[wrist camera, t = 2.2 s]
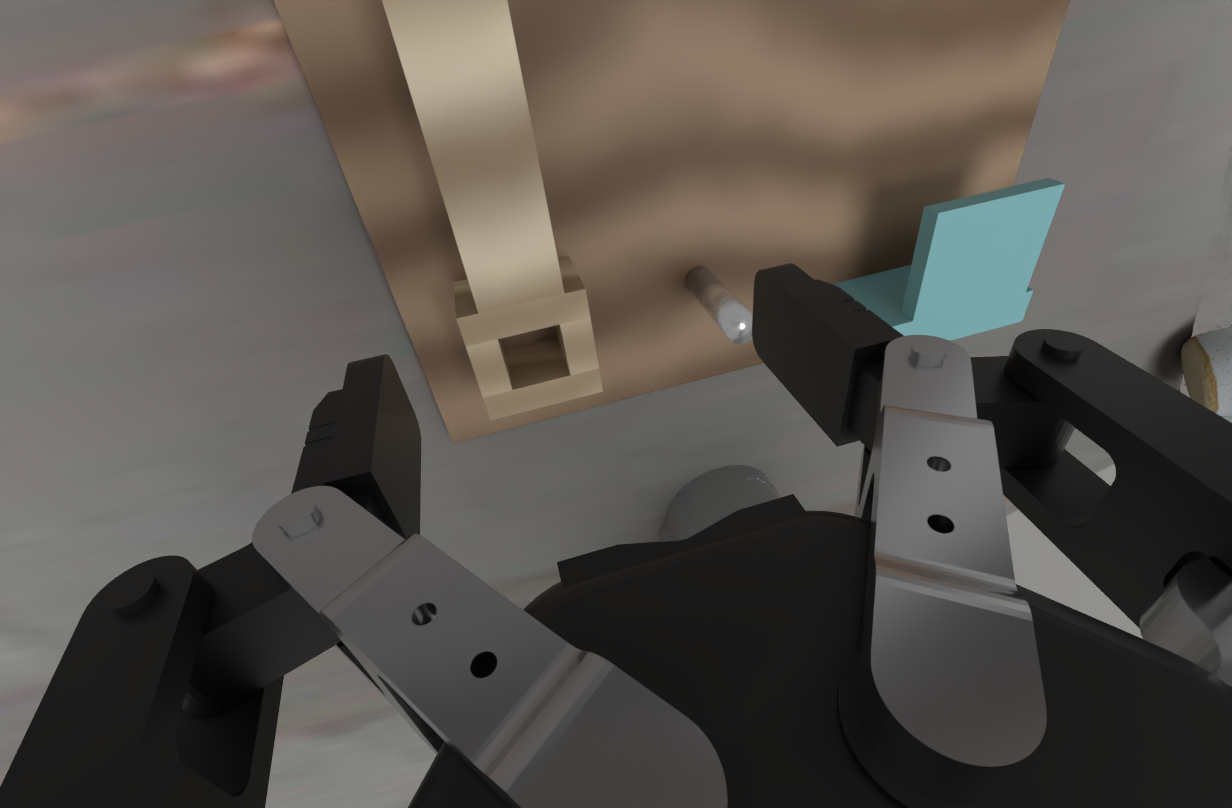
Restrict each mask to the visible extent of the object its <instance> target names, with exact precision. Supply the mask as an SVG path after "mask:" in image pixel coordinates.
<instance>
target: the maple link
mask: <svg viewBox="0 0 1232 808" xmlns="http://www.w3.org/2000/svg"><path fill="white" fill-rule="evenodd" d="M382 2H383V5H384V9H385V12H386V15H387V18H388V22H389V25H390V28H391V31H392V35H393V38H394V41H395V44H396V48H397V51H398V54H399V57H400V61H401V64H402V67H403V70H404V74H405V77H406V80H407V83H408V87H409V90H410V93H411V96H412V100H413V103H414V106H415V109H416V113H417V116H418V119H419V122H420V126H421V129H422V132H423V135H424V139H425V142H426V145H427V148H428V152H429V155H430V158H431V161H432V165H433V168H434V171H435V174H436V178H437V181H438V184H439V187H440V191H441V194H442V197H443V200H444V204H445V207H446V210H447V213H448V217H449V220H450V223H451V226H452V230H453V233H454V236H455V239H456V243H457V246H458V249H459V252H460V256H461V259H462V262H463V265H464V269H465V272H466V275H467V278H468V279H465V280H461V281H456V282H453V283H454V296H455V309H456V320H457V322H458V325H459V328H460V331H461V334H462V337H463V340H464V343H465V346H466V349H467V352H468V355H469V358H470V361H471V364H472V367H473V370H474V373H475V376H476V379H477V382H478V385H479V388H480V391H481V394H482V397H483V400H484V402H485V405H486V408H487V411H488V414H489V417H490V420H494V419H498V418H502V417H506V416H510V415H513V414H517V413H521V412H525V411H529V410H533V409H537V408H541V407H545V406H549V405H552V404H556V403H560V402H564V401H568V400H572V399H576V398H580V397H584V396H588V395H591V394H595V393H599V392H603V389H602V383H601V377H600V371H599V365H598V359H597V353H596V347H595V341H594V335H593V330H592V324H591V318H590V312H589V306H588V300H587V294H586V289H585V287H584V285H583V283H582V281H581V279H580V277H579V275H578V273H577V271H576V269H575V267H574V265H573V263H572V261H571V259H570V257H569V256H568V257H564V258H559V259H558V257H557V252H556V247H555V242H554V237H553V232H552V227H551V222H550V216H549V211H548V206H547V201H546V196H545V191H544V186H543V181H542V175H541V170H540V165H539V160H538V155H537V150H536V145H535V140H534V135H533V129H532V124H531V119H530V114H529V109H528V104H527V99H526V94H525V88H524V83H523V78H522V73H521V68H520V63H519V58H518V53H517V47H516V42H515V37H514V32H513V27H512V22H511V17H510V12H509V7H508V1H507V0H382ZM551 326H555V331H556V335H557V337H556V338H551V339H547V340H543V341H539V342H535V343H531V344H527V345H522V346H518V347H514V348H510V349H506V350H504V347H503V343H502V340H501V338H505V337H509V336H513V335H517V334H522V333H526V332H530V331H534V330H538V329H543V328H547V327H551Z"/></svg>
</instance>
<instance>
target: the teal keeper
mask: <svg viewBox="0 0 1232 808" xmlns="http://www.w3.org/2000/svg"><path fill="white" fill-rule="evenodd" d="M1064 186H1065V183H1062V182H1059V181H1055V180H1052V179H1049V178H1047V179H1042V180H1038V181H1034V182H1029V183H1025V184H1020V185H1016V186H1012V187H1007V188H1003V189H999V190H994V191H990V192H986V193H981V194H977V195H973V196H968V197H964V198H960V199H955V200H951V201H947V202H942V203H938V204H934V205H929V206H925V207H924V210H923V215H922V219H921V224H920V228H919V233H918V237H917V242H916V246H915V251H914V256H913V260H912V265H908V266H904V267H900V268H896V269H892V270H888V271H884V272H879V273H875V274H871V275H867V276H863V277H859V278H855V279H851V280H847V281H843V282H839V283H834V284H832V285H835V286H838V287H840V288H841V289H842V290H844V291H845V292H846V293H848V294H849V295H850V296H852V297H853V298H854V301H856V300H857V301H858V302H860V303H861V304H862V305H864V306H865V307H866V310H870V311H872V312H873V313H874V314H876V315H877V316H878V317H880V318H881V319H882V320H884V321H885V322H886V323H888V324H889V325H890V326H892V327H893V328H894V329H896V330H897V331H898V332H900V333H901V334H902V335H904V336H908V335H929V336H935V337H940V338H943V339H946V340H949V341H950V340H954V339H958V338H961V337H965V336H969V335H973V334H976V333H980V332H984V331H988V330H991V329H995V328H999V327H1003V326H1006V325H1010V324H1014V323H1018V322H1021V321H1022V320H1023V317H1024V314H1025V312H1026V309H1027V306H1028V304H1029V301H1030V298H1031V296H1032V293H1033V290H1032V289H1030V288H1028V285H1029V282H1030V279H1031V276H1032V274H1033V271H1034V268H1035V265H1036V263H1037V260H1038V257H1039V254H1040V252H1041V249H1042V246H1043V243H1044V241H1045V238H1046V235H1047V232H1048V230H1049V227H1050V224H1051V222H1052V219H1053V216H1054V213H1055V211H1056V208H1057V205H1058V202H1059V200H1060V197H1061V194H1062V191H1063V189H1064Z"/></svg>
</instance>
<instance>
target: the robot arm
mask: <svg viewBox="0 0 1232 808" xmlns="http://www.w3.org/2000/svg"><path fill="white" fill-rule="evenodd" d="M752 340H753V344H754V348H755V350H756V352H757V354H758V356H759V358H760V359H761V360H762V361H763V362H764V363H765V365H766V366H767V367H768V368H769V369H770V370H771V371H772V373H773V374H774V375H775V376H776V377H777V378H778V379H779V381H780V382H781V383H782V384H783V385H784V386H785V387H786V389H787V390H788V391H789V392H790V393H791V394H792V395H793V397H794V398H795V399H796V400H797V401H798V402H799V404H800V405H801V406H802V407H803V408H804V409H805V410H806V412H807V413H808V414H809V415H810V416H811V417H812V418H813V420H814V421H815V422H816V423H817V424H818V425H819V426H820V428H821V429H822V430H823V431H824V432H825V433H826V434H827V436H828V437H829V438H830V439H831V440H832V441H833V442H834V444H835V445H836V446H837V447H838V446H841V445H845V444H848V443H852V442H855V441H859V440H860V441H861V442H862V443H863V444H864V448H863V452H862V457H861V464H860V473H859V482H858V491H857V500H856V509H855V516H851V515H847V514H842V513H835V512H828V511H805V510H804V508H803V507H802V506H801V504H800V503H799V501H798V500H797V498H796V497H795V496H794V494H792V495H788V496H785V497H780V496H779V494H778V492H777V491H776V489H775V487H774V486H773V485H772V484H771V483H770V481H769V480H768V479H767V477H766V476H765V474H763V473H762V472H761V471H759V470H758V469H755V468H752V467H749V466H741V465H737V466H726V467H722V468H718V469H715V470H712V471H710V472H707V473H705V474H703V475H701V476H699V477H698V478H696V479H694V480H693V481H691V482H690V483H689V484H687V485H686V486H685V487H684V488H683V489H682V490H681V491H680V492H679V493H678V494H677V495H676V497H675V498H674V500H673V501H672V503H671V504H670V507H669V509H668V512H667V516H666V523H665V525H664V526H663V528H662V529H661V530H660V531H659V532H658V534H659V537H660V539H661V542H651V543H636V544H621V545H615V546H612V547H608V548H605V549H601V550H598V551H594V552H591V553H587V554H584V555H580V556H577V557H573V558H570V559H567V560H563V561H560V562H557V564H558V569H559V573H560V578H561V582H559V583H557V584H555V585H554V586H552V587H550V588H549V589H547V590H546V591H545V592H543V593H542V594H540V595H539V596H538V597H536V598H535V599H534V600H533V601H532V602H531V603H530V604H529V605H527V606H526V607H525V608H524V610H522V609H521V608H520V607H518V606H517V605H516V604H514V603H513V602H511V601H510V600H509V599H507V598H506V597H505V596H503V595H502V594H501V593H499V592H498V591H496V590H495V589H494V588H492V587H491V586H490V585H488V584H487V583H485V582H484V581H483V580H481V579H480V578H479V577H477V576H476V575H475V574H473V573H472V572H470V571H469V570H468V569H466V568H465V567H464V566H462V565H461V564H459V563H458V562H457V561H455V560H454V559H453V558H451V557H450V556H449V555H447V554H446V553H444V552H443V551H442V550H440V549H439V548H438V547H436V546H435V545H433V544H432V543H431V542H429V541H428V540H427V539H425V538H424V537H422V536H420V487H421V435H420V429H419V425H418V421H417V418H416V415H415V413H414V410H413V408H412V406H411V403H410V401H409V399H408V396H407V394H406V392H405V389H404V387H403V385H402V382H401V380H400V378H399V375H398V373H397V371H396V368H395V366H394V364H393V362H392V360H391V358H390V357H389V356H388V355H387V354H385V355H380V356H376V357H372V358H367V359H363V360H358V361H354V362H350V363H349V364H348V366H347V370H346V375H345V380H344V385H343V389H341V390H337V391H333V392H328V393H327V395H326V396H325V397H324V398H323V400H322V401H321V402H320V403H319V404H318V406H317V407H316V408H315V409H314V410H313V414H312V418H311V421H310V425H309V432H308V433H307V436H306V440H305V445H306V446H305V447H304V448H303V452H302V455H301V459H300V463H299V467H298V470H297V474H296V478H295V482H294V485H293V489H292V493H291V494H290V495H288V496H286V497H285V498H283V499H282V500H280V501H279V502H277V503H276V504H275V505H273V506H272V507H271V508H270V509H269V510H268V511H266V513H265V514H264V515H263V516H262V517H261V518H260V520H259V521H258V523H257V525H256V527H255V529H254V532H253V535H252V543H251V544H249V545H247V546H245V547H243V548H242V549H240V550H238V551H236V552H233V553H231V554H229V555H227V556H225V557H223V558H221V559H219V560H217V561H215V562H213V563H211V564H209V565H207V566H205V567H203V568H201V569H199V570H197V569H196V568H195V567H194V566H193V565H192V564H191V563H190V562H189V561H188V560H187V559H185V558H183V557H180V556H162V557H158V558H154V559H151V560H148V561H145V562H143V563H141V564H138V565H136V566H134V567H132V568H131V569H129V570H127V571H125V572H124V573H122V574H121V575H119V576H118V577H116V578H115V579H114V580H112V581H111V582H110V583H108V584H107V585H106V586H105V587H104V588H103V589H102V590H101V591H100V592H99V593H98V594H97V595H96V596H95V597H94V598H93V599H92V601H91V602H90V603H89V605H88V606H87V607H86V609H85V611H84V613H83V614H82V617H81V619H80V621H79V623H78V625H77V627H76V629H75V631H74V633H73V635H72V638H71V640H70V642H69V644H68V646H67V648H66V650H65V652H64V654H63V656H62V659H61V661H60V663H59V665H58V667H57V669H56V671H55V673H54V675H53V677H52V680H51V682H50V684H49V686H48V688H47V690H46V692H45V694H44V696H43V698H42V701H41V703H40V705H39V707H38V709H37V711H36V713H35V715H34V717H33V719H32V722H31V724H30V726H29V728H28V730H27V732H26V734H25V736H24V738H23V740H22V743H21V745H20V747H19V749H18V751H17V753H16V755H15V757H14V759H13V761H12V764H11V766H10V768H9V770H8V772H7V774H6V776H5V778H4V780H3V782H2V784H1V787H0V808H265V804H266V797H267V790H268V783H269V776H270V769H271V762H272V755H273V748H274V741H275V734H276V727H277V720H278V713H279V706H280V699H281V692H282V685H283V678H284V675H285V674H287V673H289V672H290V671H292V670H294V669H295V668H297V667H299V666H300V665H302V664H304V663H306V662H307V661H309V660H311V659H312V658H314V657H316V656H317V655H319V654H321V653H323V652H324V651H326V650H328V649H329V648H331V647H333V646H334V645H335V647H336V648H337V649H338V650H339V651H340V652H341V653H342V654H343V655H344V656H345V657H346V658H347V659H348V660H349V661H350V662H351V663H352V664H353V665H354V666H355V668H356V669H357V670H358V671H359V672H360V673H361V674H362V675H363V676H364V677H365V678H366V679H367V680H368V681H369V682H370V683H371V684H372V685H373V686H374V687H375V688H376V689H377V690H378V692H379V693H380V694H381V695H382V696H383V697H384V698H385V699H386V700H387V701H388V702H389V703H390V704H391V705H392V706H393V707H394V708H395V709H396V710H397V712H398V713H399V714H400V715H401V716H402V717H403V718H404V719H405V721H406V722H407V723H408V724H409V725H410V726H411V727H412V729H413V730H414V731H415V732H416V733H417V734H418V735H419V736H420V738H421V739H422V740H423V741H424V742H425V743H426V744H427V745H428V746H429V747H430V748H431V750H432V751H433V752H434V753H435V754H436V755H437V756H436V757H435V759H434V761H433V763H432V765H431V767H430V768H429V770H428V772H427V774H426V776H425V777H424V779H423V781H422V783H421V785H420V786H419V788H418V790H417V792H416V794H415V796H414V797H413V799H412V801H411V803H410V805H409V806H408V808H1232V423H1231V422H1229V421H1228V420H1226V419H1224V418H1223V417H1221V416H1219V415H1218V414H1216V413H1214V412H1213V411H1211V410H1209V409H1208V408H1206V407H1204V406H1203V405H1201V404H1199V403H1198V402H1196V401H1194V400H1192V399H1191V398H1189V397H1187V396H1186V395H1184V394H1182V393H1181V392H1179V391H1177V390H1176V389H1174V388H1172V387H1171V386H1169V385H1167V384H1166V383H1164V382H1162V381H1161V380H1159V379H1157V378H1155V377H1154V376H1152V375H1150V374H1149V373H1147V372H1145V371H1144V370H1142V369H1140V368H1139V367H1137V366H1135V365H1134V364H1132V363H1130V362H1129V361H1127V360H1125V359H1123V358H1122V357H1120V356H1118V355H1117V354H1115V353H1113V352H1112V351H1110V350H1108V349H1107V348H1105V347H1103V346H1102V345H1100V344H1098V343H1097V342H1095V341H1093V340H1091V339H1089V338H1086V337H1084V336H1081V335H1078V334H1075V333H1071V332H1067V331H1061V330H1052V329H1039V330H1031V331H1027V332H1024V333H1022V334H1020V335H1019V336H1018V337H1017V338H1016V339H1015V341H1014V344H1013V346H1012V349H1011V351H1010V354H1009V356H997V357H971V358H970V356H969V354H968V353H967V352H966V351H965V350H964V349H963V348H962V347H961V346H959V345H957V344H956V343H954V342H951V341H949V340H946V339H943V338H940V337H935V336H929V335H908V336H904V335H902V334H901V333H900V332H898V331H897V330H896V329H894V328H893V327H892V326H890V325H889V324H888V323H886V322H885V321H884V320H882V319H881V318H880V317H878V316H877V315H876V314H874V313H873V312H872V311H870V310H866V307H865V306H864V305H862V304H861V303H860V302H858V301H857V300H856V301H854V298H853V297H852V296H850V295H849V294H848V293H846V292H845V291H844V290H842V289H841V288H840V287H838V286H835V285H832V284H830V283H827V282H824V281H821V280H819V279H816V280H814V279H813V278H812V277H810V276H809V275H808V274H807V273H805V272H804V271H803V270H801V269H800V268H799V267H798V266H796V265H795V264H793V263H788V264H784V265H780V266H775V267H771V268H766V269H762V270H759V271H758V272H757V273H756V275H755V279H754V295H753V316H752ZM1075 428H1077V429H1078V430H1079V431H1080V432H1082V433H1083V434H1084V435H1086V436H1087V437H1088V438H1090V439H1091V440H1092V441H1094V442H1095V443H1096V444H1098V445H1099V446H1100V447H1102V448H1103V449H1104V450H1105V451H1106V452H1107V453H1108V454H1109V455H1110V456H1111V458H1112V459H1113V461H1114V464H1115V467H1116V477H1115V480H1114V482H1113V484H1112V485H1111V486H1110V485H1108V484H1107V483H1106V482H1105V481H1103V480H1102V479H1101V478H1100V477H1098V476H1097V475H1096V474H1095V473H1094V472H1092V471H1091V470H1090V469H1089V468H1087V467H1086V466H1085V465H1084V464H1082V463H1081V462H1080V461H1079V460H1078V459H1076V458H1075V457H1074V456H1073V455H1071V454H1070V453H1069V452H1068V451H1066V450H1065V449H1064V448H1065V446H1066V445H1067V443H1068V441H1069V439H1070V437H1071V435H1072V433H1073V431H1074V429H1075ZM1003 494H1004V495H1005V496H1006V497H1007V498H1008V499H1009V500H1010V501H1011V502H1012V503H1013V504H1014V505H1015V506H1016V507H1017V508H1018V509H1019V510H1020V511H1021V512H1022V513H1023V514H1024V515H1025V516H1026V517H1027V518H1028V519H1029V520H1030V521H1031V522H1032V523H1033V524H1034V525H1035V526H1036V527H1037V528H1038V529H1039V530H1040V531H1041V532H1042V533H1043V534H1044V535H1045V536H1046V537H1047V538H1048V539H1049V540H1050V541H1051V542H1052V543H1053V544H1054V545H1055V546H1056V547H1057V548H1058V549H1059V550H1060V551H1061V552H1062V553H1064V554H1065V555H1066V556H1067V557H1068V558H1069V559H1070V560H1071V561H1072V562H1073V563H1074V564H1075V565H1076V566H1077V567H1078V568H1079V569H1080V570H1081V571H1082V572H1083V573H1084V574H1085V575H1086V576H1087V577H1088V578H1089V579H1090V580H1091V581H1092V582H1093V583H1094V584H1095V585H1096V586H1097V587H1098V588H1099V589H1100V590H1101V591H1102V592H1103V593H1104V594H1105V595H1106V596H1107V597H1108V598H1109V599H1110V600H1111V601H1112V602H1113V603H1114V604H1115V605H1116V606H1117V607H1118V608H1119V609H1120V610H1121V611H1122V612H1124V613H1125V615H1126V616H1127V617H1128V618H1130V620H1132V621H1133V622H1134V623H1135V624H1136V625H1137V626H1138V627H1139V628H1140V631H1141V635H1142V637H1143V639H1141V638H1139V637H1137V636H1134V635H1132V634H1130V633H1127V632H1125V631H1123V630H1121V629H1118V628H1116V627H1114V626H1111V625H1109V624H1107V623H1104V622H1102V621H1099V620H1097V619H1095V618H1093V617H1091V616H1088V615H1086V614H1084V613H1081V612H1079V611H1077V610H1074V609H1072V608H1070V607H1067V606H1065V605H1063V604H1061V603H1058V602H1056V601H1054V600H1051V599H1049V598H1047V597H1044V596H1042V595H1040V594H1037V593H1035V592H1033V591H1030V590H1028V589H1026V588H1023V587H1021V586H1019V585H1017V584H1015V578H1014V571H1013V563H1012V556H1011V549H1010V543H1009V542H1010V541H1009V534H1008V527H1007V520H1006V512H1005V505H1004V498H1003Z"/></svg>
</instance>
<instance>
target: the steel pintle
mask: <svg viewBox="0 0 1232 808" xmlns="http://www.w3.org/2000/svg"><path fill="white" fill-rule="evenodd" d="M685 285H686V288H687V289H688V290H689V291H690V293H691V294H692V295H693V296H694V297H695V298H696V300H697V301H698V302H699V303H700V304H701V306H702V307H703V308H704V309H705V310H706V312H707V313H708V314H709V315H710V316H711V317H712V319H713V320H714V321H715V322H716V323H717V325H718V326H719V327H720V328H721V329H722V331H723V332H724V333H725V334H726V335H727V337H728V338H729V339H730V340H731V341H732V342H733V343H735V344H745V343H747V342H749V341H751V340H752V316H753V314H752V313H751V312H750V311H749V310H748V309H747V308H746V307H745V306H744V305H743V304H742V303H741V302H740V301H739V299H738V298H737V297H736V296H735V295H734V294H733V293H732V292H731V291H730V290H729V289H728V288H727V287H726V286H725V285H724V284H723V283H722V282H721V281H720V280H719V279H718V278H717V277H716V276H715V275H714V274H713V273H712V272H711V271H710V270H709V269H708V268H707V267H705V266H697V267H695V268H693V269H691V270H690V271H689V272H688V274H687V276H686V278H685Z"/></svg>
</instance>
